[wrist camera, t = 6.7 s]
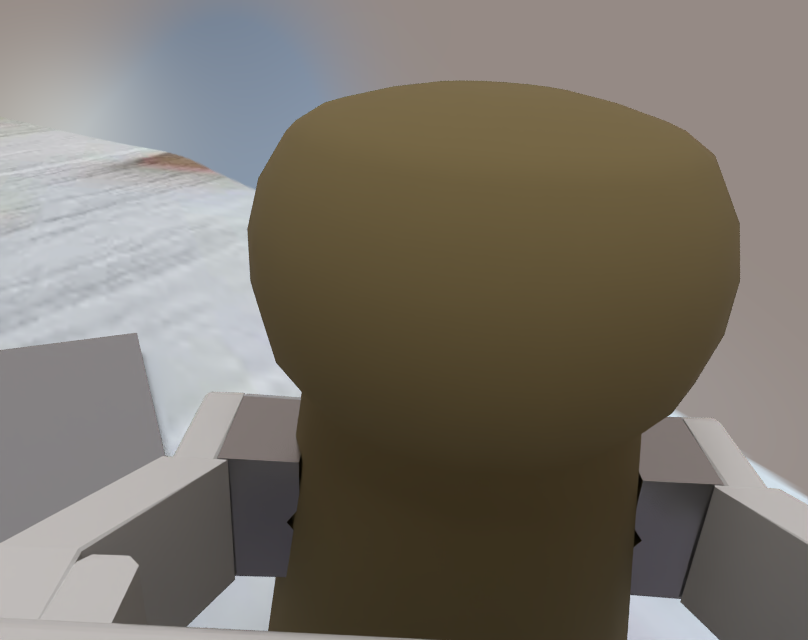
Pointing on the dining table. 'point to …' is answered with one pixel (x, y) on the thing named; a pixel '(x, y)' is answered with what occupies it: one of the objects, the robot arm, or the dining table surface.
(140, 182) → the dining table surface
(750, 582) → the robot arm
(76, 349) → the plate
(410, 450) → the olive brown pawn
